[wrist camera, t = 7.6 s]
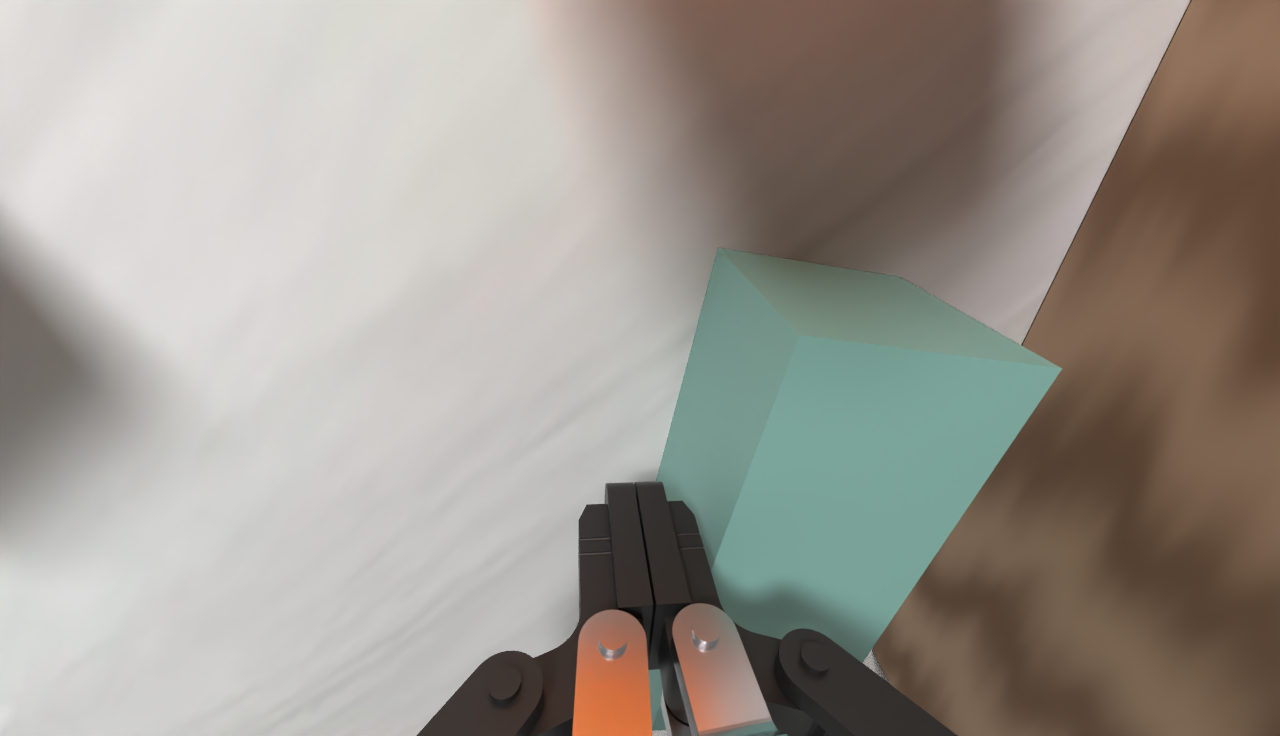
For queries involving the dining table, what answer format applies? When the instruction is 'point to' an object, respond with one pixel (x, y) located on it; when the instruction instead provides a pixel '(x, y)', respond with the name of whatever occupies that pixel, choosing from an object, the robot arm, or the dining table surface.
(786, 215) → the dining table surface
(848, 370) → the green block
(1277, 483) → the walnut board
